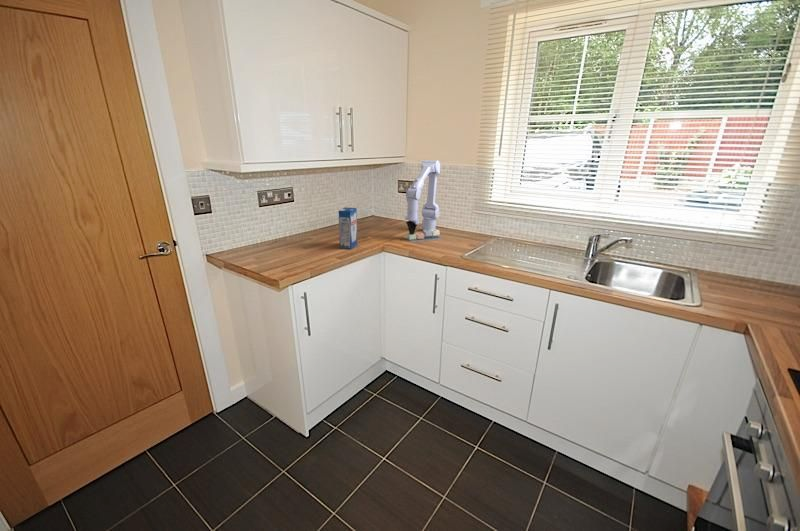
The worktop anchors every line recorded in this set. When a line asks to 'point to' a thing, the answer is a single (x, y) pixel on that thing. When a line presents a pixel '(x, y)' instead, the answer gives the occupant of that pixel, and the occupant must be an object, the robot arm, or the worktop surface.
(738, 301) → the worktop surface
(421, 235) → the key
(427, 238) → the keypad board
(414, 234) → the key
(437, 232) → the key
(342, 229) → the milk carton
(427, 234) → the key
